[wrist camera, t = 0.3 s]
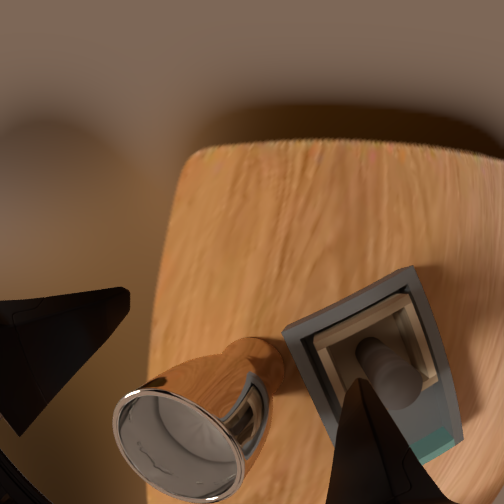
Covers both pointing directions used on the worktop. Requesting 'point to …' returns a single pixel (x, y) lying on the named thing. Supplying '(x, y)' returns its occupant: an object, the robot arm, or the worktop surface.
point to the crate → (379, 352)
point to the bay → (408, 419)
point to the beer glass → (201, 421)
